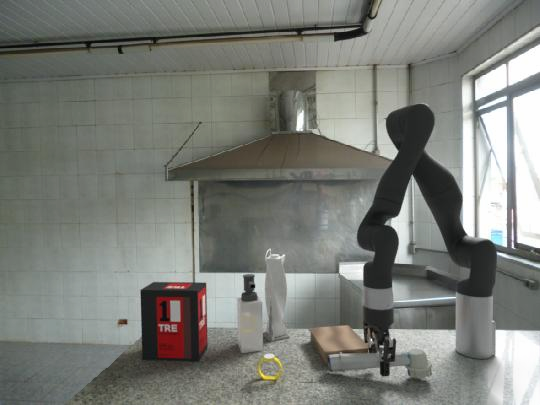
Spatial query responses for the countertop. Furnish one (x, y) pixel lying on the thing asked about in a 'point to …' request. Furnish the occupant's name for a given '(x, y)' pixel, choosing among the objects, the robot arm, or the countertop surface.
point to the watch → (269, 358)
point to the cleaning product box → (174, 321)
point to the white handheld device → (411, 360)
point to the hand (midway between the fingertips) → (378, 368)
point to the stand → (336, 341)
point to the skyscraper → (275, 297)
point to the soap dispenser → (249, 318)
